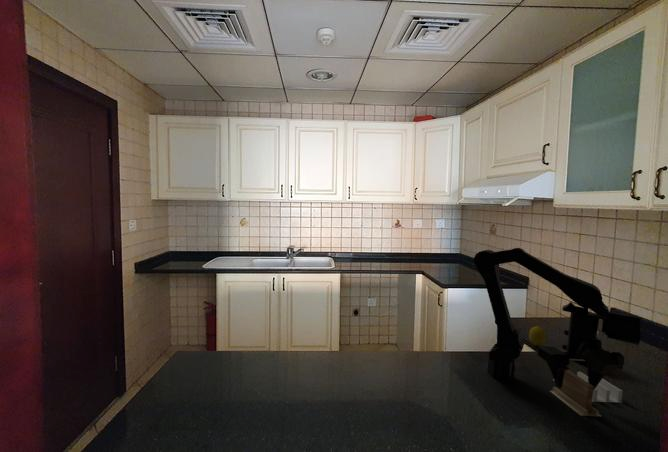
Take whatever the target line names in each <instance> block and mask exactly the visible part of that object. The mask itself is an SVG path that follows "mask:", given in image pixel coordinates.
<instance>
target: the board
mask: <svg viewBox="0 0 668 452" xmlns="http://www.w3.org/2000/svg"><path fill="white" fill-rule="evenodd" d="M559 390H561V391H562V392H563V393H564V394H566V395H567V396H568V397H570V398H571V399H572V400H574V401H575V402H576V403H578V404H579V405H580V406H582V407H583V408H584V409H586V410H587V411H588V412H587V413H591V406H592V407H593V404H592V403H593V401H592V398H593V391H594V386H592V385H591V384H589V383H588V382H586V381H585V380H583V379H582V378H580V377H579V376H577V374H575V373H574V372H573V371H571V370H570V369H568V370H566V371H565V372H564V378H563V384H562V387H561V388H559Z"/></svg>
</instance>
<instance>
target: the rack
mask: <svg viewBox="0 0 668 452" xmlns="http://www.w3.org/2000/svg"><path fill="white" fill-rule="evenodd" d="M576 375H577V376H579V377H580V378H582V379H583V380H585V381H586V382H588V374H587V375H586V373H583V372H582V371H577V374H576ZM552 381H554V378H553V379H552ZM623 392H624V391H623V390H622V389H620V388H619V387H618V386H616V385H613V384H612V383H611V382H608V381H607V380H605V379H604V378H602V379H601V381H600V382H599V384H598V385H597V387H596V388H595V390H594V391H593V398H592V402H599V403H601V402H602V403H603V402H604V403H624V402H623Z"/></svg>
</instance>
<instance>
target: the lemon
mask: <svg viewBox="0 0 668 452" xmlns="http://www.w3.org/2000/svg"><path fill="white" fill-rule="evenodd" d="M528 338H529V341H530V342H531V343H532V344H534V345H535V347H540V346H543V345H544V344H545V343H546V342H547V341H546V340H547V334H546V331H545V330H544V329H543V327H541V326H539V325H536V326H533V327H531V328H530V330H529V331H528Z"/></svg>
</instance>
